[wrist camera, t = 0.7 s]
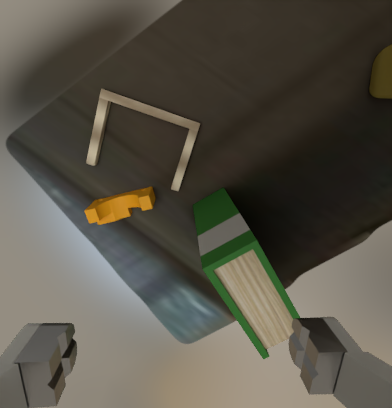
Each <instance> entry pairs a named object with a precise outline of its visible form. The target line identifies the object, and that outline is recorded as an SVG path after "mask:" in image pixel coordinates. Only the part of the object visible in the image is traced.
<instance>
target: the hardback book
mask: <svg viewBox="0 0 392 408" xmlns="http://www.w3.org/2000/svg"><path fill="white" fill-rule="evenodd" d="M193 210H194V217H195V223H196V230H197V236H198V243H199V249H200V256H201V262H202V269H203V271H204V272H205V274H206V275H207V277H208V278H209V279H210V281H211V282H212V284H213V285H214V287H215V288H216V290H217V291H218V293H219V294H220V296H221V297H222V299H223V300H224V302H225V303H226V305H227V306H228V308H229V309H230V310H231V312H232V313H233V315H234V316H235V318H236V319H237V321H238V322H239V324H240V325H241V326H242V328H243V330H244V331H245V333H246V334H247V335H248V337H249V339H250V340H251V341H252V343H253V344H254V346H255V347H256V349H257V350H258V352H259V353H260V355H261V356H262V358H263V359H265V358H267V357H269V354H268V352H267V349H268V348H270V347H272V346H274V345H276V344H278V343H280V342H283V341H285V340H287V339H289V337H290V335H291V334H292V333H293V332H294V331H293V329H292V327H291V326H292V321H293V320H294V318H300V316H299V315H298V313H297V311H296V309H295V307H294V306H293V304H292V302H291V300H290V299H289V297H288V295H287V293H286V291H285V290H284V288H283V286H282V284H281V282H280V281H279V279H278V277H277V275H276V273H275V272H274V270H273V268H272V266H271V265H270V263H269V261H268V259H267V257H266V256H265V254H264V252H263V250H262V248H261V247H260V245H259V243H258V241H257V240H256V238H255V236H254V235H253V233H252V232H251V230H250V229H249V227H248V225H247V224H246V222H245V221H244V219H243V217H242V216H241V214H240V213H239V211H238V210H237V208H236V206H235V205H234V203H233V202H232V200H231V199H230V197H229V195H228V194H227V192H226V191H225V189H224V188H221V189H220V190H218V191H216V192H214V193H213V194H211V195H209V196H207V197H206V198H204V199H202V200H200V201H199V202H197V203H195V204H193Z"/></svg>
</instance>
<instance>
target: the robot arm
mask: <svg viewBox="0 0 392 408" xmlns="http://www.w3.org/2000/svg"><path fill="white" fill-rule="evenodd" d="M291 327H292V329H293V331H294V332H293V333H292V334H291V335H290V337H289V351H290V354H291V358H292V360H293V362H294V364H295V365H296V366H297V367H299V368H300V369H301V374H300V377H301V379H302V380H303V383H304V385H305V387H306V389H307V391H308V393H309V394H334V396H335V397H336V398H337V399H338V400H339V401H340V402H341V403H342V404H343V405H345V407H347V408H392V366H390V365H389V364H387V363H385V362H384V361H382V360H380V359H379V358H377V357H375V356H374V355H372V354H370V353H369V352H363V351H362V350H361V348H360V347H359V346H358V345H357V343H356V342H355V341H354V340H353V339H352V337H351V336H350V335H349V334H348V333H347V331H346V330H345V329H344V328H343V327H342V325H341V324H340V323H339V322H338V320H337V319H335V318H334V317H320V318H294V320H293V321H292V326H291ZM74 333H75V329H74V325H73V324H72V323H43V324H38V323H36V324H34V323H28V324H27V325H25V326H24V327H23V328H22V329H21V331H20V332H19V333H18V335H17V336H16V337H15V338H14V340H13V341H12V342H11V344H10V345H9V346H8V348H7V349H6V350H5V352H4V353H3V354H2V355H1V357H0V408H35V407H49V406H57V404H58V402H59V399H60V397H61V394H62V392H63V390H64V388H65V377H66V376H67V375H69V374H70V373H71V371H72V369H73V366H74V364H75V360H76V355H77V344H76V341H75V340H73V338H72V337H73V335H74Z"/></svg>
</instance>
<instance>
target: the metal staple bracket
mask: <svg viewBox="0 0 392 408" xmlns="http://www.w3.org/2000/svg"><path fill="white" fill-rule="evenodd" d="M111 102H114V103H117V104H119V105H122V106H125V107H128V108H131V109H134V110H137V111H140V112H143V113H145V114H148V115H151V116H154V117H157V118H160V119H163V120H166V121H168V122H171V123H174V124H177V125H180V126H183V127H186V128H189V132H188V135H187V138H186V142H185V145H184V148H183V151H182V154H181V157H180V161H179V164H178V167H177V170H176V173H175V177H174V180H173V183H172V186H171V189H172V190H175V191H179V188H180V185H181V182H182V179H183V175H184V172H185V169H186V166H187V163H188V160H189V157H190V154H191V151H192V148H193V145H194V142H195V139H196V135H197V132H198V129H199V126H200V123H197V122H194V121H192V120H189V119H186V118H183V117H180V116H177V115H175V114H172V113H169V112H166V111H163V110H160V109H158V108H155V107H152V106H149V105H146V104H143V103H141V102H138V101H135V100H132V99H129V98H127V97H124V96H121V95H118V94H115V93H112V92H110V91H107V90H104V89H101V93H100V97H99V102H98V107H97V112H96V117H95V122H94V127H93V132H92V137H91V142H90V146H89V151H88V156H87V161H86V164H90V165H93V166H95V165H97V164H98V159H99V154H100V150H101V145H102V141H103V136H104V131H105V127H106V122H107V118H108V113H109V109H110V104H111Z"/></svg>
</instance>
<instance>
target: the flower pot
mask: <svg viewBox="0 0 392 408" xmlns="http://www.w3.org/2000/svg"><path fill="white" fill-rule="evenodd" d="M369 91H370V94H371V95H372V96H373V97H376V98H388V99H392V44H391V45H389V46H387V47H386V48H384V49H383V50H382V51H381V52H380V53H379V54H378V55H377V57H376V59H375V60H374V63H373V66H372V73H371V80H370V86H369Z"/></svg>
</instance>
